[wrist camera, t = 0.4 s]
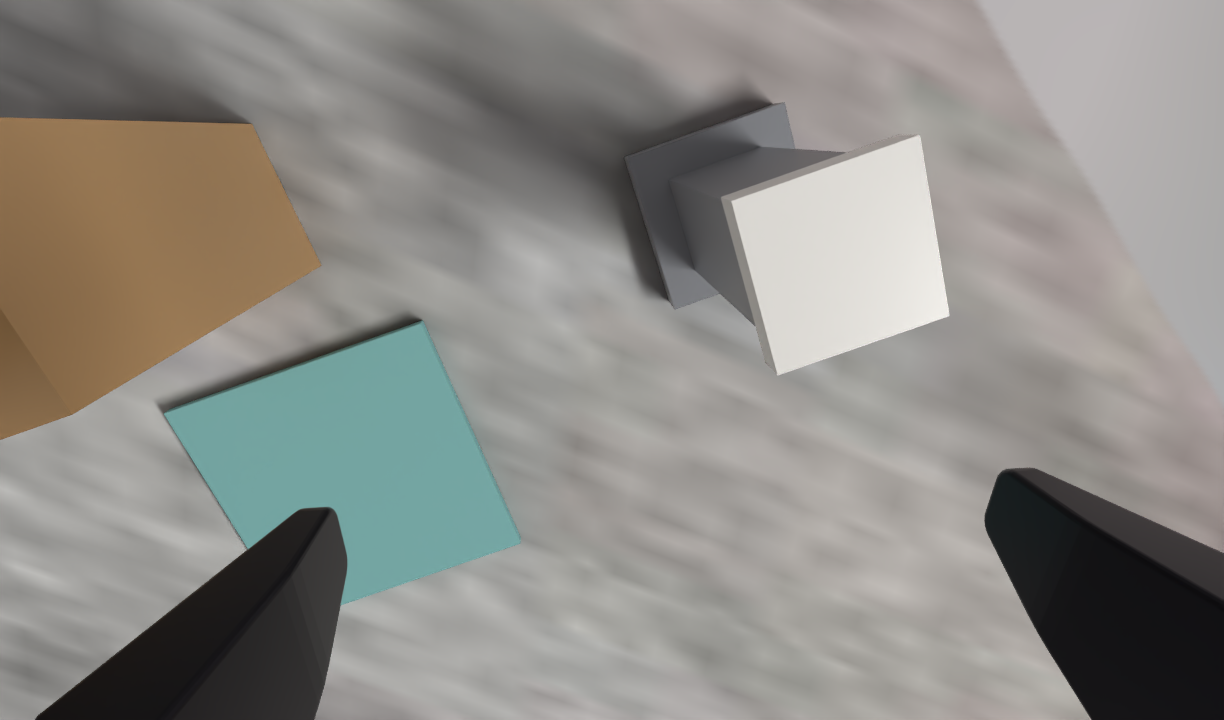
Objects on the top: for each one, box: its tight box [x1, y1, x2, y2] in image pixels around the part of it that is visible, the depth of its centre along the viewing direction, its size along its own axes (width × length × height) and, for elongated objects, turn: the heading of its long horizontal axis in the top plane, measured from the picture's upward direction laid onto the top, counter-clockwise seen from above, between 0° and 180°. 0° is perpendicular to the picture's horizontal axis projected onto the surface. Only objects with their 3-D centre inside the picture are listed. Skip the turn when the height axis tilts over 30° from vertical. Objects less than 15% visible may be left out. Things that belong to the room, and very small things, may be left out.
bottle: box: [0, 117, 321, 440], centre depth 14 cm, size 4×4×15 cm
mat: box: [164, 320, 521, 605], centre depth 24 cm, size 9×9×1 cm
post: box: [624, 102, 949, 375], centre depth 17 cm, size 5×5×10 cm
